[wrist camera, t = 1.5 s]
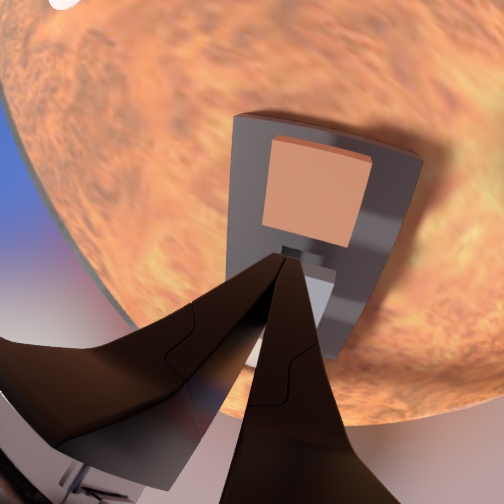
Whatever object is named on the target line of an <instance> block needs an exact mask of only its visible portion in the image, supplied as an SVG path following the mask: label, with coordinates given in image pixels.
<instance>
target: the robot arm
mask: <svg viewBox="0 0 504 504" xmlns="http://www.w3.org/2000/svg"><path fill="white" fill-rule="evenodd" d="M265 325H266V326H265ZM264 327H265V330H264V335H263V339H262V343H261V348H260V352H259V356H258V361H257V365H256V369H255V373H254V378H253V382H252V386H251V390H250V394H249V398H248V402H247V406H246V410H245V414H244V418H243V422H242V426H241V430H240V433H239V437H238V440H237V444H236V447H235V451H234V455H233V458H232V461H231V465H230V468H229V472H228V475H227V478H226V482H225V485H224V488H223V491H222V495H221V498H220V501H219V504H401V503H400V502H399V501H398V500H397V499H396V498H395V497H394V496H393V495H392V494H391V493H390V492H389V491H388V490H387V488H386V487H385V486H384V485H383V484H382V483H381V482H380V481H379V480H378V479H377V477H376V476H375V475H374V474H373V473H372V472H371V471H370V470H369V468H368V467H367V466H366V465H365V464H364V463H363V462H362V460H361V459H360V458H359V457H358V455H357V454H356V453H355V451H354V449H353V447H352V445H351V443H350V441H349V439H348V436H347V433H346V431H345V427H344V424H343V421H342V418H341V415H340V412H339V409H338V407H337V404H336V401H335V398H334V395H333V392H332V389H331V386H330V382H329V379H328V376H327V373H326V369H325V364H324V360H323V356H322V351H321V346H320V344H319V338H318V333H317V328H316V324H315V319H314V315H313V310H312V306H311V301H310V297H309V293H308V289H307V284H306V280H305V276H304V272H303V268H302V264H301V260H300V259H297V258H294V257H290V256H288V257H286V256H285V255H283V254H279V253H276V252H273V253H271V254H269V255H268V256H266V257H265V258H263V259H261V260H260V261H258V262H256V263H255V264H253V265H251V266H250V267H248V268H247V269H245V270H243V271H242V272H240V273H238V274H237V275H235V276H233V277H232V278H230V279H229V280H227V281H225V282H224V283H222V284H220V285H219V286H217V287H215V288H214V289H212V290H210V291H209V292H207V293H205V294H204V295H202V296H200V297H199V298H197V299H195V300H194V301H192V303H189V304H187V305H185V306H184V307H182V308H180V309H179V310H177V311H175V312H173V313H171V314H170V315H168V316H166V317H164V318H162V319H160V320H158V321H156V322H154V323H152V324H150V325H148V326H146V327H143V328H141V329H139V330H137V331H134V332H132V333H130V334H128V335H126V336H123V337H121V338H119V339H116V340H114V341H112V342H110V343H107V344H105V345H102V346H98V347H94V348H87V349H77V348H61V347H50V346H40V345H31V344H22V343H16V342H11V341H9V340H6V339H4V338H2V337H0V504H136V502H137V500H138V499H139V497H140V495H141V493H142V492H143V490H144V488H145V486H149V487H153V488H156V489H160V490H164V491H169V490H170V488H171V487H172V485H173V484H174V482H175V480H176V479H177V477H178V476H179V474H180V473H181V471H182V470H183V468H184V467H185V465H186V463H187V462H188V460H189V459H190V457H191V455H192V454H193V452H194V451H195V449H196V447H197V446H198V444H199V442H200V441H201V438H202V437H203V436H204V434H205V433H206V431H207V429H208V428H209V426H210V424H211V423H212V421H213V419H214V417H215V416H216V414H217V412H218V411H219V409H220V407H221V405H222V404H223V402H224V400H225V399H226V397H227V395H228V393H229V392H230V390H231V388H232V386H233V385H234V383H235V381H236V379H237V377H238V376H239V374H240V372H241V370H242V368H243V367H244V365H245V363H246V361H247V359H248V357H249V356H250V354H251V352H252V350H253V348H254V346H255V344H256V343H257V341H258V339H259V337H260V335H261V333H262V331H263V329H264Z"/></svg>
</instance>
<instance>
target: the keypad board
mask: <svg viewBox="0 0 504 504" xmlns="http://www.w3.org/2000/svg"><path fill="white" fill-rule="evenodd" d="M278 135H282V136H287V137H292V138H297V139H302V140H307V141H311V142H316V143H320V144H325V145H329V146H333V147H337V148H341V149H345V150H349V151H352V152H356V153H360V154H363V155H367V156H370V157H371V160H372V166H371V170H370V174H369V178H368V181H367V185H366V189H365V192H364V196H363V199H362V203H361V206H360V209H359V213H358V216H357V219H356V222H355V226H354V229H353V232H352V235H351V238H350V241H349V244H348V247H343V246H339V245H336V244H332V243H329V242H325V241H321V240H318V239H314V238H310V237H307V236H303V235H299V234H296V233H292V232H288V231H284V230H280V229H277V228H273V227H269V226H265V225H262V222H263V213H264V205H265V197H266V189H267V180H268V172H269V163H270V155H271V147H272V140H273V139H274V138H275V137H277V136H278ZM422 164H423V160H422V159H421V157H420V156H419V155H418V154H416V153H413V152H410V151H407V150H404V149H401V148H398V147H395V146H392V145H389V144H386V143H383V142H379V141H376V140H373V139H369V138H366V137H362V136H359V135H355V134H351V133H347V132H343V131H339V130H335V129H331V128H327V127H322V126H317V125H313V124H308V123H303V122H298V121H292V120H287V119H281V118H275V117H268V116H261V115H254V114H246V113H242V114H239V115H236V116H234V120H233V134H232V150H231V167H230V185H229V205H228V227H227V252H226V281H227V280H229V279H230V278H232V277H233V276H235V275H237V274H238V273H240V272H242V271H243V270H245V269H247V268H248V267H250V266H251V265H253V264H255V263H256V262H258V260H259V259H260V257H261V255H262V253H263V251H267V252H270V253H273V252H276V253H279V254H283V255H285V256H286V257H288V256H290V257H294V258H297V259H300V260H301V261H303V262H306V263H310V264H314V265H317V266H321V267H324V268H328V269H331V270H335V271H336V277H335V283H334V286H333V289H332V292H331V294H330V297H329V300H328V302H327V305H326V307H325V310H324V312H323V315H322V317H321V320H320V322H319V324H318V327H317V333H318V338H319V344H320V346H321V351H322V356H323V358H327V359H331V360H335V359H336V357H337V356H338V354H339V352H340V350H341V349H342V347H343V345H344V344H345V342H346V340H347V338H348V337H349V335H350V333H351V331H352V330H353V328H354V326H355V324H356V322H357V320H358V318H359V317H360V315H361V313H362V311H363V309H364V307H365V305H366V303H367V301H368V299H369V297H370V295H371V293H372V291H373V289H374V287H375V285H376V283H377V281H378V279H379V277H380V274H381V272H382V270H383V268H384V266H385V263H386V261H387V259H388V257H389V254H390V252H391V250H392V247H393V245H394V243H395V240H396V238H397V235H398V233H399V230H400V228H401V225H402V223H403V220H404V217H405V215H406V212H407V209H408V207H409V204H410V201H411V198H412V195H413V192H414V189H415V186H416V183H417V180H418V177H419V174H420V171H421V167H422ZM265 326H266V325H265Z"/></svg>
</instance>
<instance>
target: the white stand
mask: <svg viewBox="0 0 504 504" xmlns="http://www.w3.org/2000/svg"><path fill="white" fill-rule="evenodd" d="M82 1H83V0H49V2H50V4H51V6H52V7H53V8H55V9H57V10H66V9H70V8H72V7H74V6H76V5H77V4H79V3H80V2H82Z"/></svg>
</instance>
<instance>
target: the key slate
mask: <svg viewBox="0 0 504 504" xmlns="http://www.w3.org/2000/svg"><path fill="white" fill-rule="evenodd" d="M269 254H271V253H270V252H267V251H263V253H262V255H261V257H260V259H259V260H258V261H260V260H261V259H263V258H265V257H266V256H268V255H269ZM301 264H302V268H303V272H304V276H305V280H306V284H307V289H308V293H309V297H310V301H311V306H312V310H313V315H314V319H315V324H316V328H317V327H318V324H319V322H320V320H321V317H322V315H323V312H324V310H325V307H326V305H327V302H328V300H329V297H330V294H331V292H332V289H333V286H334V283H335V277H336V271H335V270H331V269H328V268H324V267H321V266H317V265H314V264H310V263H306V262H303V261H301Z"/></svg>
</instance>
